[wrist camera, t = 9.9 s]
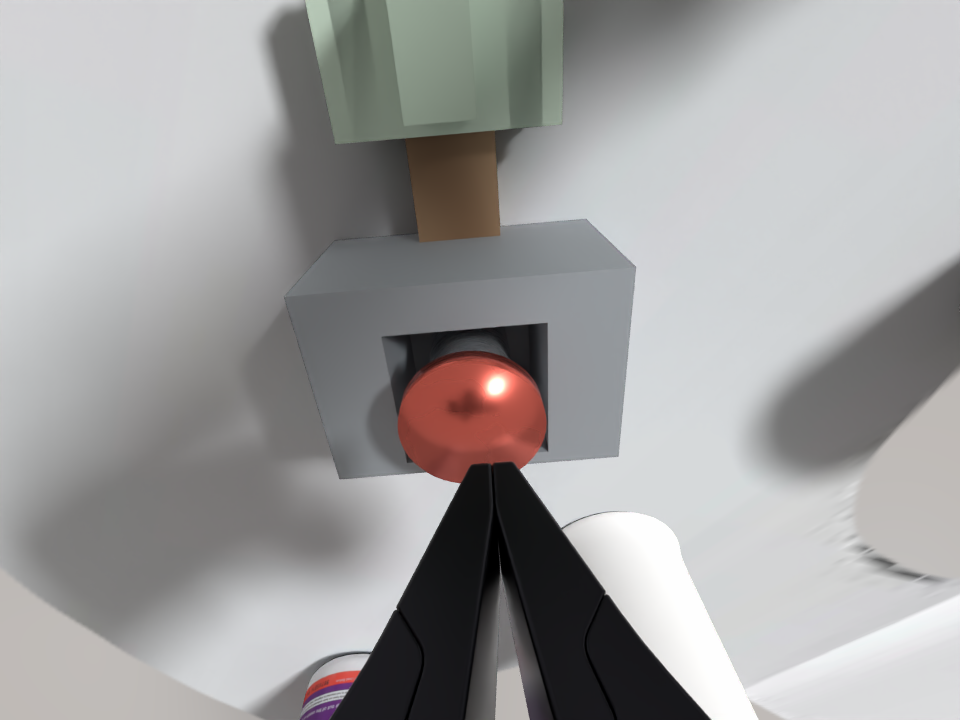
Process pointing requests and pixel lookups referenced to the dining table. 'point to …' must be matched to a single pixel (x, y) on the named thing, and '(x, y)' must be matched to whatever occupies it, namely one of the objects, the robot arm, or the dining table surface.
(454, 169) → the rail
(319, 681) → the pill bottle
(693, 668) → the mug
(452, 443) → the plunger
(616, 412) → the housing
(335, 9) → the carriage
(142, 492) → the dining table surface
